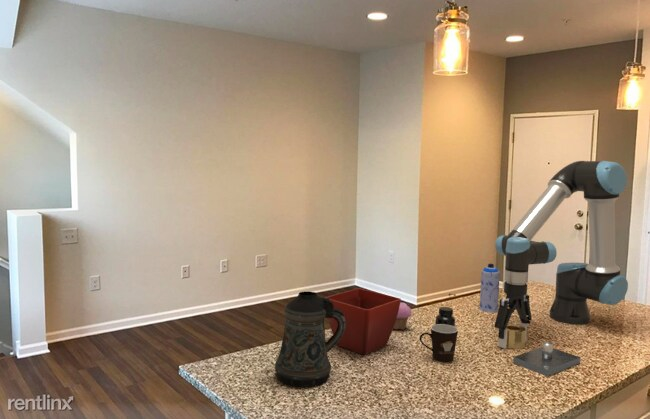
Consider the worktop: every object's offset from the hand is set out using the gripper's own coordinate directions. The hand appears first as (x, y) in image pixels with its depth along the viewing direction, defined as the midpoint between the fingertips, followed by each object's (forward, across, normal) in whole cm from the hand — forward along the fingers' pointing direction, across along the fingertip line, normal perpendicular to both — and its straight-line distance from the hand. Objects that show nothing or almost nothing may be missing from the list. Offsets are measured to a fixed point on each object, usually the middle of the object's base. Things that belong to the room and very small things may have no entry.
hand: (512, 344), depth 178 cm
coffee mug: (0, +31, -6) cm, 31 cm away
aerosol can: (0, -28, -31) cm, 42 cm away
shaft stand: (0, +5, +16) cm, 17 cm away
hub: (0, 0, 0) cm, 0 cm away
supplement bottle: (0, +18, -15) cm, 23 cm away
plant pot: (+1, +45, -28) cm, 53 cm away
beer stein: (+1, +74, -18) cm, 76 cm away
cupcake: (+1, +22, -34) cm, 40 cm away
